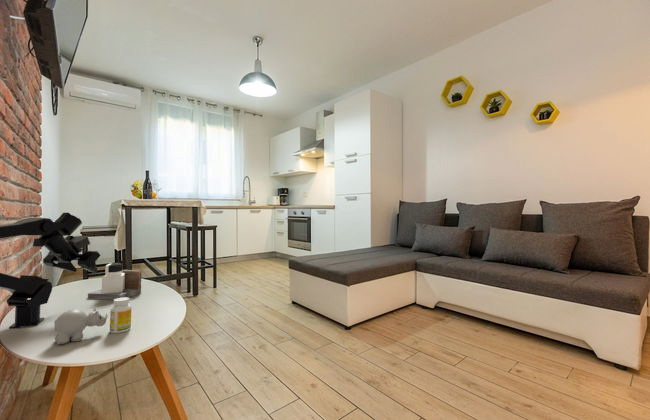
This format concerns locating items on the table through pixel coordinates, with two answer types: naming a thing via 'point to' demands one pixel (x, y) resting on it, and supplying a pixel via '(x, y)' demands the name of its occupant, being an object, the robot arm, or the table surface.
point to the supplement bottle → (120, 315)
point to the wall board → (130, 288)
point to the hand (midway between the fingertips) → (86, 271)
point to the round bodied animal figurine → (76, 324)
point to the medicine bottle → (113, 279)
